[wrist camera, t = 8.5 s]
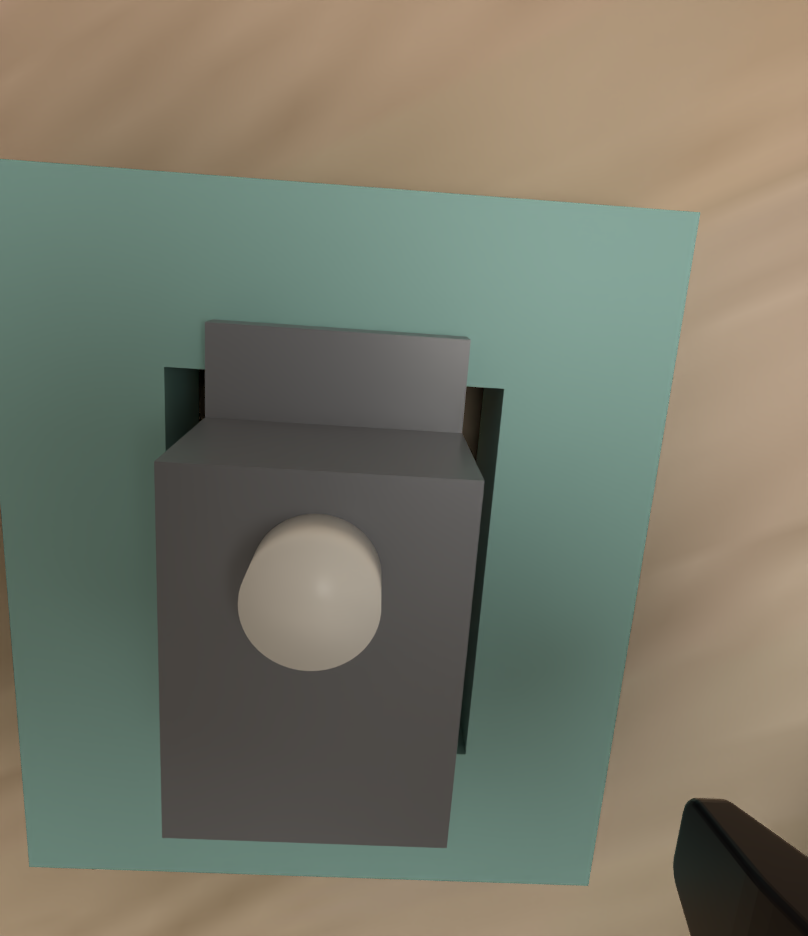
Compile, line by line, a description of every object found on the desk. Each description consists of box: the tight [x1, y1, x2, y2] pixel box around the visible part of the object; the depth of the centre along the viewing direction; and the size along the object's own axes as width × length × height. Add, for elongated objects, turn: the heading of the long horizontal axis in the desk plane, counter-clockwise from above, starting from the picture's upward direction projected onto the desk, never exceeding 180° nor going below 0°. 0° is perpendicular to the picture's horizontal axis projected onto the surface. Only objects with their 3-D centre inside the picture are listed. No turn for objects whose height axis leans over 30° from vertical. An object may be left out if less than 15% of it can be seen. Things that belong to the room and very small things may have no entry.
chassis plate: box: [0, 159, 700, 886], centre depth 15 cm, size 14×12×2 cm
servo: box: [154, 319, 484, 848], centre depth 13 cm, size 9×4×7 cm, turn 176°
